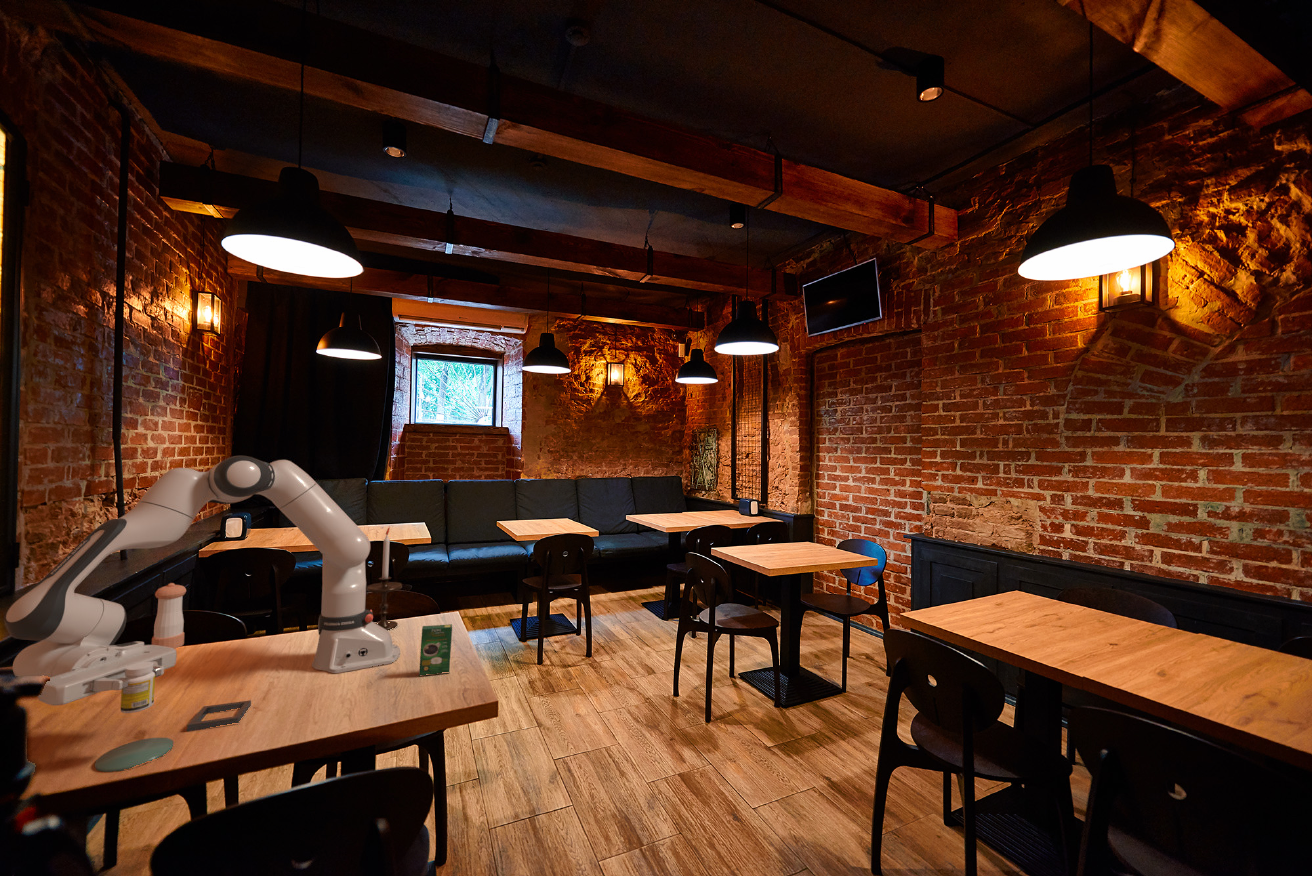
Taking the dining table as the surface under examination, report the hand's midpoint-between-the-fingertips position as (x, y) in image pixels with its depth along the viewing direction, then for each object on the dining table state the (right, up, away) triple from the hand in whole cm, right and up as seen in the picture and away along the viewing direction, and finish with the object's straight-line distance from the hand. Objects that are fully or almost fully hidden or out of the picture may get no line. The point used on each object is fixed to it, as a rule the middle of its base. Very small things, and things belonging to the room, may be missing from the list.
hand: (142, 678), depth 105 cm
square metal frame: (+3, -16, +15) cm, 22 cm away
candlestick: (+7, -18, +78) cm, 81 cm away
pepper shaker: (-47, -16, +56) cm, 75 cm away
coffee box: (+41, -18, +42) cm, 61 cm away
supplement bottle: (-1, -6, 0) cm, 6 cm away
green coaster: (-1, -15, 0) cm, 15 cm away
